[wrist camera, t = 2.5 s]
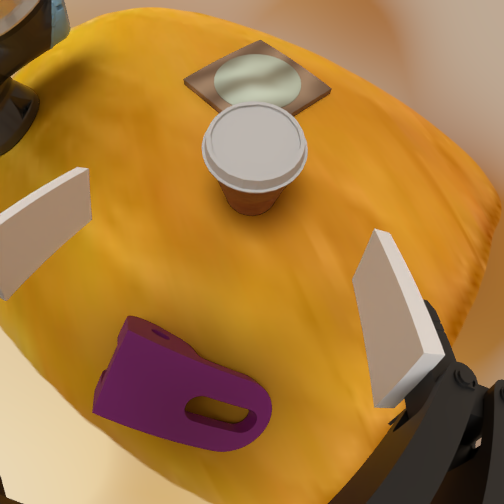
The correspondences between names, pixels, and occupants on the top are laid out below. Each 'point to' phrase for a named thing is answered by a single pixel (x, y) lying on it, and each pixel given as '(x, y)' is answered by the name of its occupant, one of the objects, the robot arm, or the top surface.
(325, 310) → the top surface
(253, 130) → the disposable coffee cup
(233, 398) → the mounting bracket
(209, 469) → the top surface
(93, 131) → the top surface
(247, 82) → the coaster
